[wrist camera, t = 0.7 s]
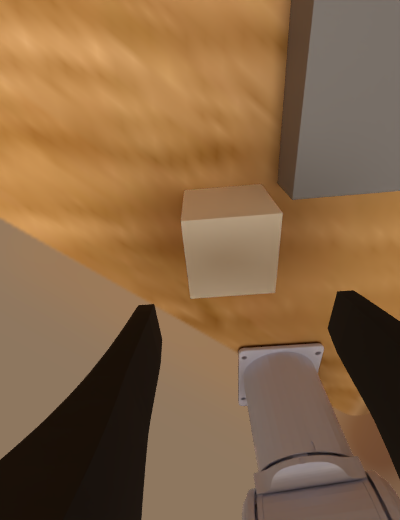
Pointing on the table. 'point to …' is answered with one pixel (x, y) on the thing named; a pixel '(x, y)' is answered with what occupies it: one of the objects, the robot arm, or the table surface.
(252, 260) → the cream cube
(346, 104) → the charcoal base
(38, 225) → the table surface
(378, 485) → the robot arm
